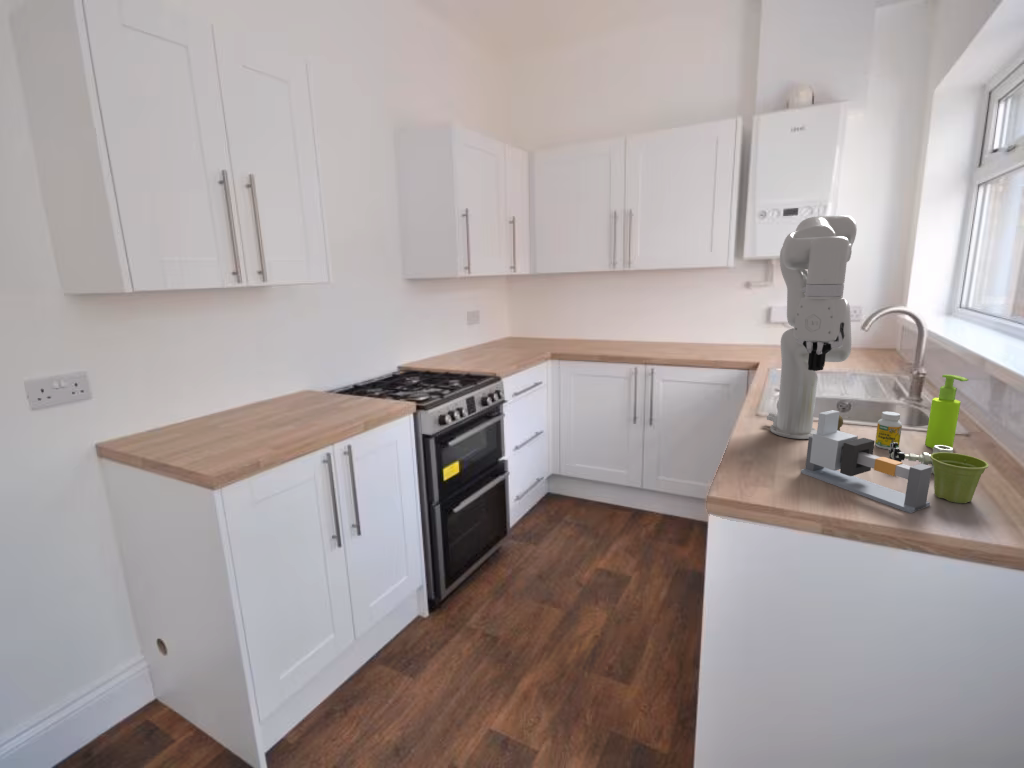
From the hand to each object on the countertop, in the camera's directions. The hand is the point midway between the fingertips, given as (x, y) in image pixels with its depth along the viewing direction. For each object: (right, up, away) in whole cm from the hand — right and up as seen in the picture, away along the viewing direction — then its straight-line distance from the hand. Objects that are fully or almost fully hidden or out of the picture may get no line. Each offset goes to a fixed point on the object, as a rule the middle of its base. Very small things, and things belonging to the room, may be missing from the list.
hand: (815, 369), depth 123 cm
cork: (+12, -22, +15) cm, 29 cm away
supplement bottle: (+31, -21, +19) cm, 42 cm away
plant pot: (+22, -28, -12) cm, 38 cm away
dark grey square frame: (+6, -23, -6) cm, 25 cm away
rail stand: (+6, -27, -6) cm, 28 cm away
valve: (+27, -25, +3) cm, 37 cm away
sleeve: (+3, -22, -1) cm, 23 cm away
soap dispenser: (+44, -21, +18) cm, 52 cm away
